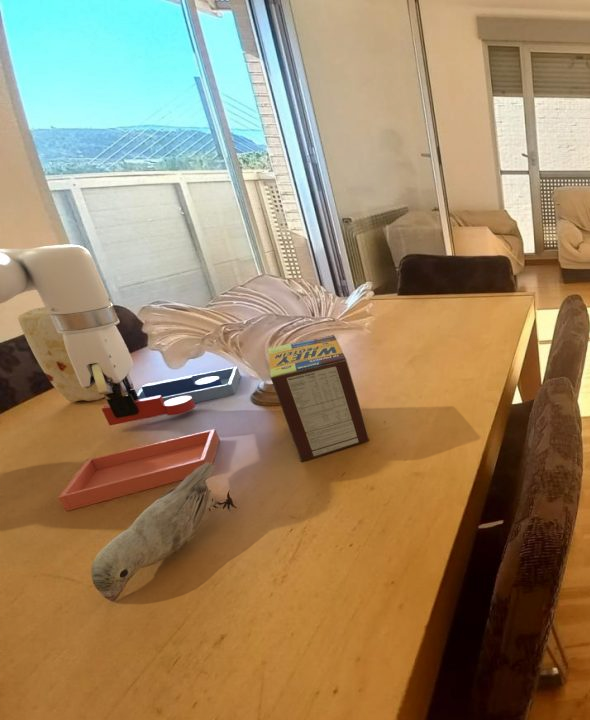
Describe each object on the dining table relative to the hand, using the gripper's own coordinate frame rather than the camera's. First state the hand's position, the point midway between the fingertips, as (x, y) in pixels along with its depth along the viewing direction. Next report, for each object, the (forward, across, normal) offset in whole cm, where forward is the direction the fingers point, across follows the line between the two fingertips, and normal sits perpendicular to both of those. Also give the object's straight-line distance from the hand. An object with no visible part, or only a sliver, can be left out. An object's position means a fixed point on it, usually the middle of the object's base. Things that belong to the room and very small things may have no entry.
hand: (129, 412), depth 88 cm
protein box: (+2, +25, +32) cm, 40 cm away
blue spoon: (+2, -11, +6) cm, 13 cm away
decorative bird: (+3, +46, +14) cm, 48 cm away
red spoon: (+2, 0, +3) cm, 3 cm away
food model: (+3, -22, -11) cm, 25 cm away
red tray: (+3, +22, +7) cm, 23 cm away
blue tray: (+3, -11, +7) cm, 13 cm away
